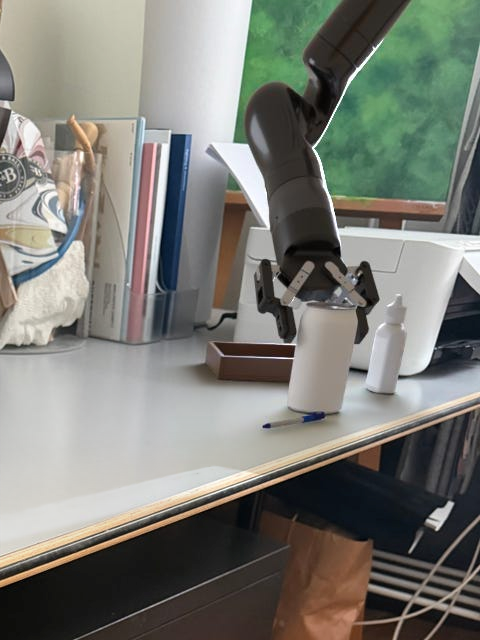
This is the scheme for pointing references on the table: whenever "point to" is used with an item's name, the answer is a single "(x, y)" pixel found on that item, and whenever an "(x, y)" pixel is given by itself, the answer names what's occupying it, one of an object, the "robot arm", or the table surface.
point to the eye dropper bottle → (388, 350)
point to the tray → (250, 361)
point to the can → (322, 357)
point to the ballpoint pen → (296, 420)
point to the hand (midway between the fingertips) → (325, 339)
